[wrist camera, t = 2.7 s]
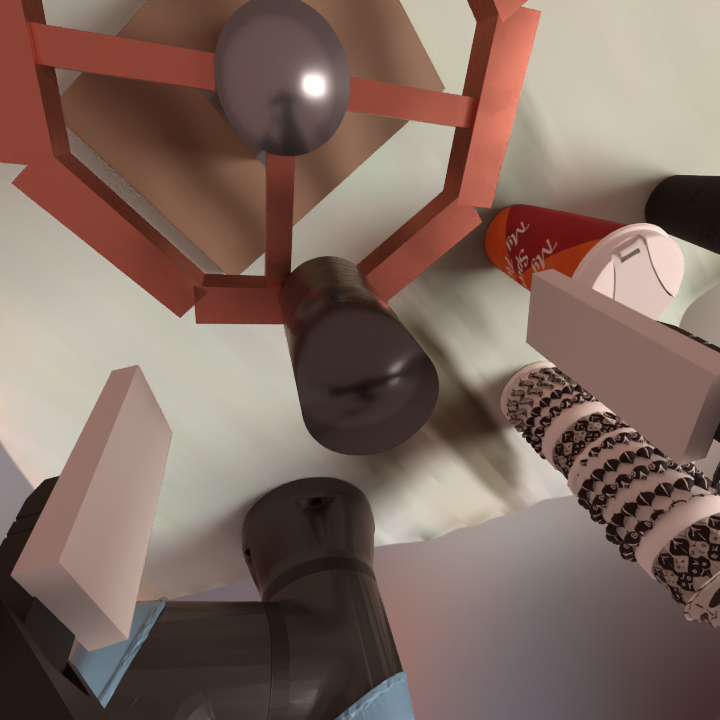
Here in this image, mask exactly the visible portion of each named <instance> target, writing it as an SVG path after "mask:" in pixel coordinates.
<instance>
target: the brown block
mask: <svg viewBox="0 0 720 720" xmlns="http://www.w3.org/2000/svg"><path fill="white" fill-rule="evenodd" d="M248 1H250V0H149V1H148V2H147V3H146V4H145V5H144V6H143V7H142V8H141V10H140V11H139V12H138V13H137V14H136V15H135V16H134V17H133V18H132V19H131V20H130V22H129V23H128V24H127V25H126V26H125V27H124V28H123V29H122V30H121V31H120V32H119V34H118V35H117V36H116V37H121V38H127V39H133V40H139V41H144V42H150V43H156V44H162V45H168V46H174V47H180V48H185V49H191V50H197V51H203V52H209V53H214V54H215V50H216V46H217V42H218V38H219V36H220V34H221V31H222V29H223V27H224V26H225V24H226V22H227V21H228V19H229V18H230V17H231V16H232V14H233V13H234V12H235V11H236V10H237V9H238V8H240V7H241V6H242V5H244V4H245V3H247V2H248ZM302 2H304V3H306V4H308V5H309V6H311V7H312V8H314V9H315V10H316V11H317V12H319V13H320V14H321V15H322V16H323V17H324V18H325V19H326V20H327V22H328V23H329V24H330V25H331V27H332V28H333V30H334V31H335V32H336V34H337V36H338V38H339V40H340V42H341V44H342V47H343V49H344V51H345V55H346V58H347V62H348V67H349V73H350V77H355V78H361V79H367V80H373V81H379V82H385V83H390V84H396V85H402V86H408V87H414V88H420V89H426V90H431V91H437V92H441V91H442V90H444V89H445V87H444V85H443V83H442V82H441V80H440V78H439V76H438V74H437V72H436V70H435V68H434V66H433V64H432V62H431V60H430V58H429V56H428V55H427V53H426V51H425V49H424V47H423V45H422V43H421V41H420V39H419V37H418V35H417V33H416V31H415V30H414V28H413V26H412V24H411V22H410V20H409V18H408V16H407V14H406V12H405V10H404V8H403V6H402V4H401V3H400V1H399V0H302ZM60 99H61V105H62V110H63V115H64V121H65V124H66V125H67V126H68V127H69V128H70V129H71V130H72V131H73V132H74V133H75V134H77V135H78V136H79V137H80V138H81V139H82V140H83V141H84V142H85V143H86V144H87V145H88V146H89V147H90V148H92V149H93V150H94V151H95V152H96V153H97V154H98V155H99V156H100V157H101V158H102V159H103V160H104V161H105V162H107V163H108V164H109V165H110V166H111V167H112V168H113V169H114V170H115V171H116V172H117V173H118V174H119V175H120V176H122V177H123V178H124V179H125V180H126V181H127V182H128V183H129V184H130V185H131V186H132V187H133V188H134V189H136V190H137V191H138V192H139V193H140V194H141V195H142V196H143V197H144V198H145V199H146V200H147V201H148V202H149V203H151V204H152V205H153V206H154V207H155V208H156V209H157V210H158V211H159V212H160V213H161V214H162V215H163V216H164V217H166V218H167V219H168V220H169V221H170V222H171V223H172V224H173V225H174V226H175V227H176V228H177V229H178V230H179V231H181V232H182V233H183V234H184V235H185V236H186V237H187V238H188V239H189V240H190V241H191V242H192V243H193V244H194V245H196V246H197V247H198V248H199V249H200V250H201V251H202V252H203V253H204V254H205V255H206V256H207V257H208V258H210V259H211V260H212V261H213V262H214V263H215V264H216V265H217V266H218V267H219V268H220V269H221V270H222V271H223V272H225V273H226V274H227V275H240V274H241V273H242V272H243V271H244V270H245V269H247V268H248V267H249V266H250V265H251V264H252V263H253V262H254V261H255V260H256V259H258V258H259V257H260V256H261V255H262V254H263V253H264V252H265V201H266V152H265V151H263V150H261V149H259V148H257V147H256V146H254V145H253V144H251V143H250V142H249V141H248V140H246V139H245V138H244V137H243V136H242V135H241V134H240V133H239V132H238V131H237V130H236V128H235V127H234V126H233V124H232V123H231V122H230V120H229V119H228V117H227V115H226V113H225V111H224V109H223V107H222V105H221V103H220V100H219V96H218V93H217V92H215V91H208V90H202V89H195V88H188V87H181V86H175V85H168V84H161V83H154V82H147V81H141V80H134V79H127V78H120V77H114V76H107V75H100V74H93V73H87V72H83V73H82V74H81V75H80V76H79V77H78V78H77V79H76V80H75V82H74V83H73V84H72V85H71V86H70V87H69V88H68V89H67V90H66V91H65V92H64V94H63V95H62V96H61V97H60ZM408 121H409V120H404V119H398V118H391V117H384V116H377V115H371V114H364V113H357V112H350V111H346V113H345V115H344V118H343V120H342V122H341V124H340V126H339V128H338V129H337V131H336V132H335V133H334V135H333V136H332V137H331V138H330V139H329V140H328V141H327V142H326V143H325V144H323V145H322V146H321V147H319V148H318V149H316V150H314V151H312V152H310V153H307V154H304V155H300V156H295V178H294V202H293V226H294V225H295V224H296V223H297V222H298V221H299V220H300V219H302V218H303V217H304V216H305V215H306V214H307V213H308V212H309V211H310V210H311V209H313V208H314V207H315V206H316V205H317V204H318V203H319V202H320V201H321V200H322V199H324V198H325V197H326V196H327V195H328V194H329V193H330V192H331V191H332V190H333V189H335V188H336V187H337V186H338V185H339V184H340V183H341V182H342V181H343V180H344V179H346V178H347V177H348V176H349V175H350V174H351V173H352V172H353V171H354V170H356V169H357V168H358V167H359V166H360V165H361V164H362V163H363V162H364V161H365V160H367V159H368V158H369V157H370V156H371V155H372V154H373V153H374V152H375V151H376V150H378V149H379V148H380V147H381V146H382V145H383V144H384V143H385V142H386V141H387V140H389V139H390V138H391V137H392V136H393V135H394V134H395V133H396V132H397V131H398V130H400V129H401V128H402V127H403V126H404V125H405V124H406V123H407V122H408Z"/></svg>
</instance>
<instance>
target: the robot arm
mask: <svg viewBox="0 0 720 720" xmlns="http://www.w3.org/2000/svg"><path fill="white" fill-rule="evenodd" d="M526 342H527V343H528V344H529V345H530V346H531V347H533V348H534V349H535V350H536V351H538V352H539V353H540V354H541V355H543V356H544V357H545V358H546V359H548V360H549V361H550V362H551V363H553V364H554V365H555V366H556V367H557V368H559V369H560V370H561V371H562V372H564V373H565V374H566V375H567V376H569V377H570V378H571V379H572V380H574V381H575V382H576V383H577V384H578V385H580V386H581V387H582V388H583V389H585V390H586V391H587V392H588V393H590V394H591V395H592V396H593V397H595V398H596V399H597V400H598V401H599V402H601V403H602V404H603V405H604V406H606V407H607V408H608V409H609V410H611V411H612V412H613V413H614V414H616V415H617V416H618V417H619V418H620V419H622V420H623V421H624V422H625V423H627V424H628V425H629V426H630V427H632V428H633V429H634V430H635V431H637V432H638V433H639V434H640V435H642V436H643V437H644V438H645V439H646V440H648V441H649V442H650V443H651V444H653V445H654V446H655V447H656V448H658V449H659V450H660V451H661V452H663V453H664V454H665V455H666V456H667V457H669V458H670V459H671V460H672V461H674V462H675V463H676V464H677V465H679V466H681V465H684V464H687V463H690V462H693V461H697V460H699V459H703V458H706V456H707V453H708V451H709V448H710V446H711V444H712V442H713V439H715V440H717V441H718V442H720V348H719V347H717V346H715V345H713V344H708V342H707V341H705V340H703V339H701V338H699V337H694V336H693V334H691V333H689V332H686V331H685V330H683V329H680V328H679V327H677V326H674V325H670V324H666V323H663V322H659V321H656V320H653V319H651V318H649V317H647V316H645V315H643V314H641V313H639V312H637V311H635V310H633V309H631V308H629V307H627V306H625V305H623V304H621V303H619V302H617V301H615V300H613V299H612V298H610V297H608V296H606V295H604V294H602V293H600V292H598V291H596V290H594V289H592V288H590V287H588V286H586V285H584V284H582V283H580V282H578V281H576V280H574V279H572V278H570V277H568V276H566V275H564V274H562V273H560V272H558V271H556V270H554V269H549V270H545V271H540V272H536V273H532V283H531V294H530V305H529V316H528V327H527V339H526ZM171 437H172V431H171V429H170V427H169V425H168V423H167V421H166V419H165V417H164V415H163V413H162V411H161V409H160V407H159V405H158V403H157V401H156V399H155V397H154V395H153V393H152V391H151V389H150V387H149V385H148V383H147V381H146V379H145V377H144V375H143V373H142V371H141V369H140V367H139V365H136V366H131V367H127V368H123V369H118V370H114V371H112V372H111V374H110V376H109V378H108V380H107V382H106V384H105V386H104V388H103V390H102V392H101V394H100V396H99V398H98V400H97V402H96V404H95V406H94V408H93V410H92V412H91V414H90V417H89V419H88V421H87V423H86V425H85V427H84V429H83V431H82V433H81V435H80V437H79V439H78V441H77V443H76V445H75V447H74V449H73V451H72V453H71V455H70V457H69V459H68V461H67V463H66V465H65V467H64V469H63V471H62V473H61V475H60V476H57V477H53V478H49V479H46V480H44V481H43V482H42V483H41V484H40V485H39V486H38V487H37V488H36V489H35V490H34V491H33V493H32V494H31V495H30V496H29V497H28V498H27V499H26V500H25V502H24V504H23V506H22V508H21V510H20V511H19V513H18V515H17V517H16V522H13V524H12V526H11V528H10V529H9V531H8V533H7V538H5V539H4V540H3V542H2V544H1V546H0V720H415V718H414V713H413V709H412V704H411V699H410V695H409V690H408V686H407V676H406V674H405V672H403V669H402V665H401V662H400V659H399V655H398V652H397V649H396V645H395V642H394V639H393V635H392V632H391V628H390V625H389V622H388V618H387V615H386V612H385V608H384V606H383V602H382V599H381V596H380V592H379V588H378V585H377V582H376V578H375V575H374V571H373V556H374V531H375V523H374V517H373V514H372V511H371V508H370V505H369V502H368V500H367V498H366V496H365V495H364V494H363V493H362V492H361V491H360V490H359V489H358V488H357V487H355V486H353V485H352V484H349V483H347V482H344V481H341V480H337V479H331V478H310V479H304V480H299V481H295V482H292V483H289V484H286V485H284V486H281V487H279V488H277V489H275V490H273V491H272V492H270V493H269V494H267V495H266V496H264V497H263V498H262V499H261V500H259V501H258V502H257V503H256V504H255V505H254V506H253V508H252V509H251V510H250V512H249V513H248V515H247V517H246V519H245V521H244V524H243V531H242V545H243V554H244V558H245V561H246V563H247V565H248V567H249V570H250V573H251V575H252V578H253V580H254V582H255V585H256V587H257V589H258V592H259V595H260V597H261V602H258V601H244V602H243V601H167V598H164V597H163V598H160V599H159V600H155V601H136V600H137V595H138V591H139V586H140V581H141V577H142V572H143V567H144V563H145V558H146V553H147V549H148V544H149V539H150V535H151V530H152V525H153V521H154V516H155V511H156V507H157V502H158V497H159V493H160V488H161V484H162V479H163V474H164V470H165V465H166V460H167V456H168V451H169V446H170V442H171ZM719 480H720V462H719V464H718V466H717V468H716V471H715V473H714V475H713V482H716V483H718V482H719ZM74 639H76V640H77V641H79V643H78V645H77V647H76V649H75V651H74V654H73V656H72V658H71V660H70V661H69V660H68V658H69V655H70V652H71V648H72V645H73V642H74Z"/></svg>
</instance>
